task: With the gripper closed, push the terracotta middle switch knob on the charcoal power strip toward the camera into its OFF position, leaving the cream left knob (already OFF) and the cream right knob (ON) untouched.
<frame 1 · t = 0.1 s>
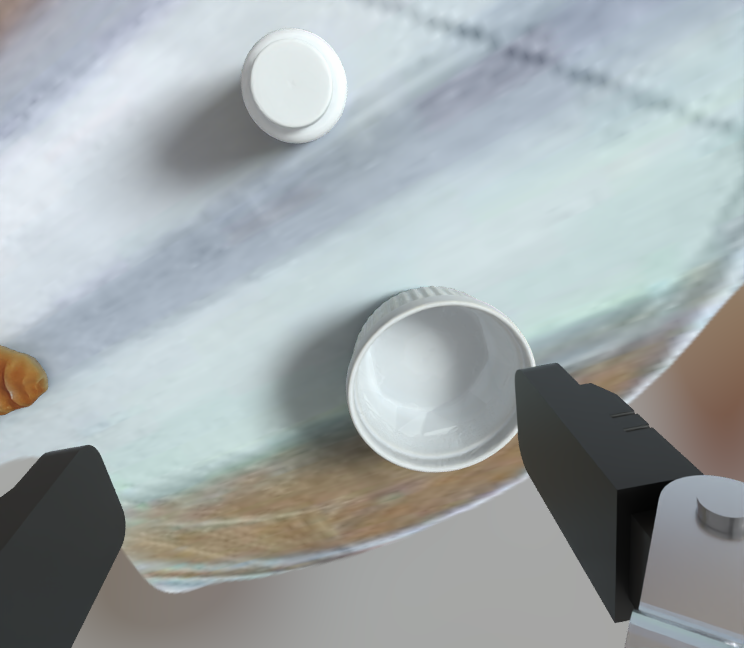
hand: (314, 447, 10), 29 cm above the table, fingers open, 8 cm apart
ramekin: (425, 351, 42), on the table
supplement bottle: (301, 96, 35), on the table
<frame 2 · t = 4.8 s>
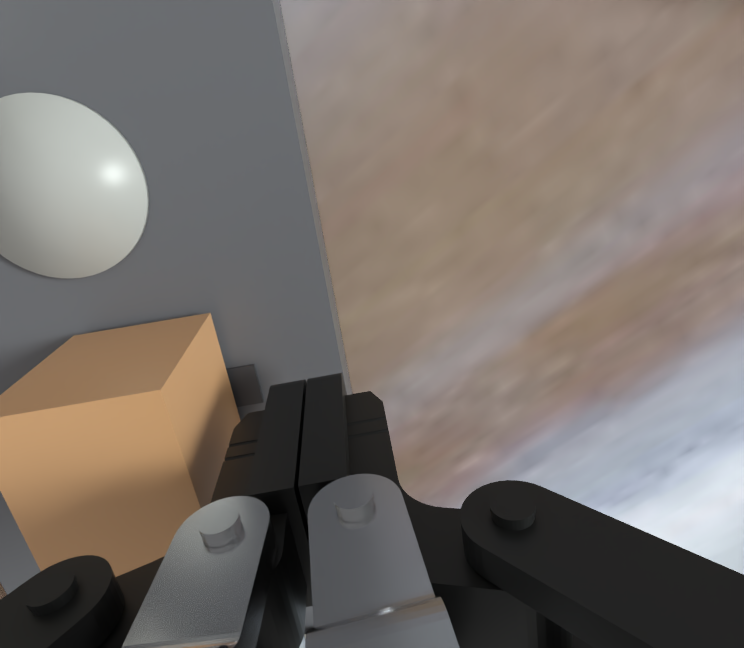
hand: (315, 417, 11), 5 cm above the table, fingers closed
power strip: (170, 352, 15), on the table
switch middle: (142, 447, 10), point 5 cm above the table, slide at 1.1 cm, touching gripper
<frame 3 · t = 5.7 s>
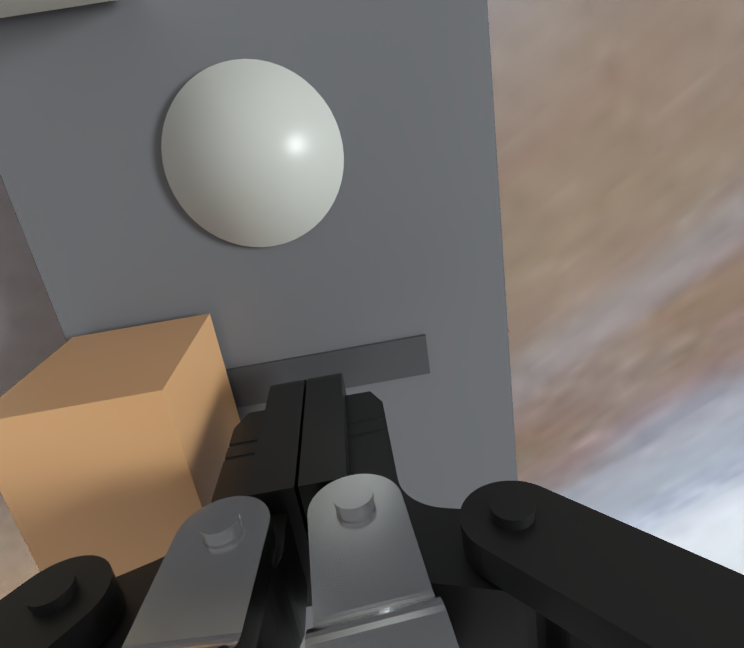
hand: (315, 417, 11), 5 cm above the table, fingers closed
power strip: (307, 329, 15), on the table
switch middle: (143, 449, 10), point 5 cm above the table, slide at 5.2 cm, touching gripper
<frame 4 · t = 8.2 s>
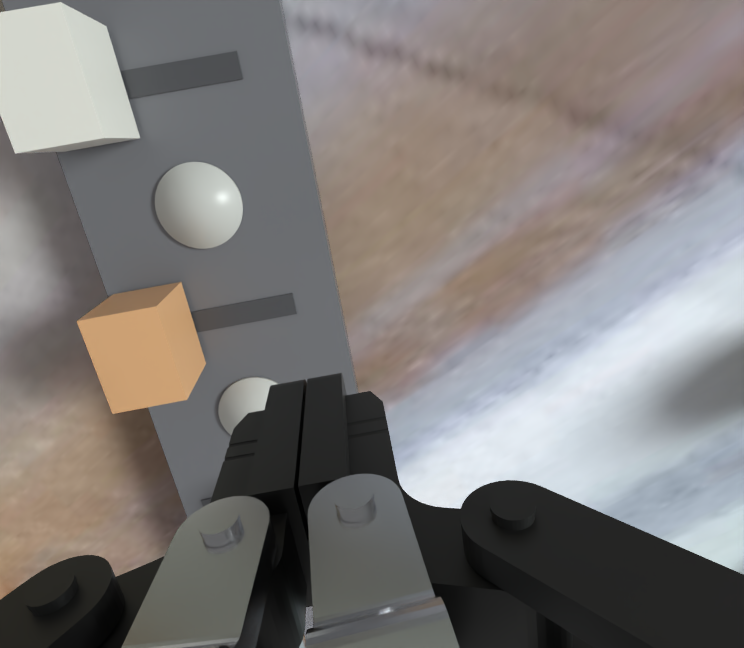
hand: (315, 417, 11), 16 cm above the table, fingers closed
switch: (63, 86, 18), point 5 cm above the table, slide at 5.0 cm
power strip: (240, 296, 27), on the table
switch middle: (148, 344, 22), point 5 cm above the table, slide at 5.1 cm
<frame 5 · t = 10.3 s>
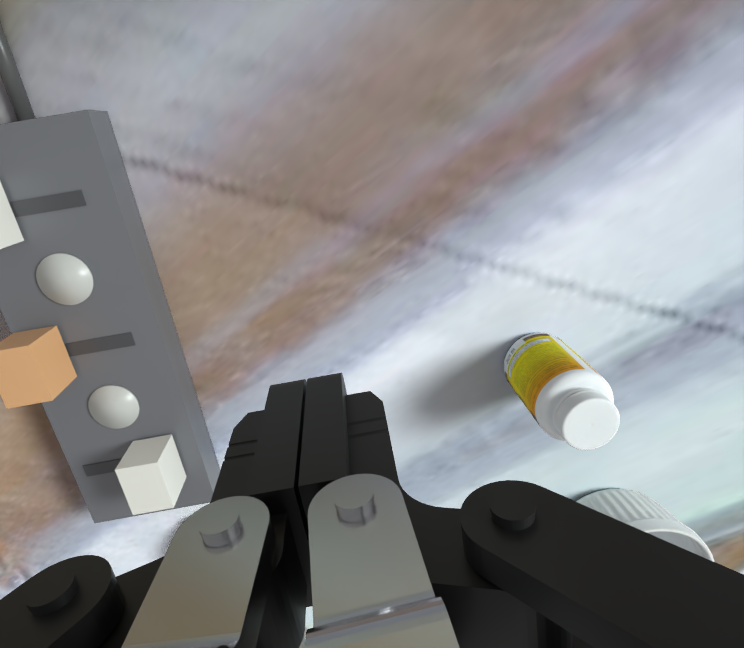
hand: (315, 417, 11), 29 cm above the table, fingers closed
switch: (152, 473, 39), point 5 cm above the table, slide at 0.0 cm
ramekin: (601, 530, 51), on the table
supplement bottle: (533, 359, 44), on the table
power strip: (108, 330, 40), on the table
switch middle: (32, 365, 35), point 5 cm above the table, slide at 5.1 cm
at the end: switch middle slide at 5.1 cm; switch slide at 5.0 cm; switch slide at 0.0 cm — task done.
